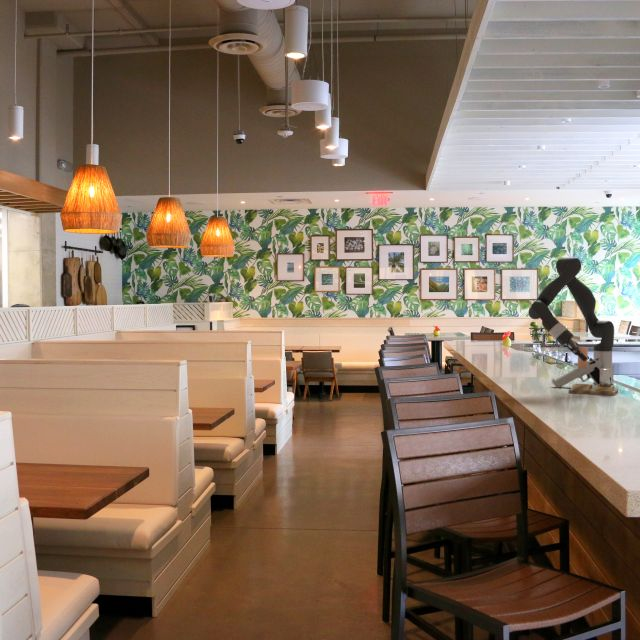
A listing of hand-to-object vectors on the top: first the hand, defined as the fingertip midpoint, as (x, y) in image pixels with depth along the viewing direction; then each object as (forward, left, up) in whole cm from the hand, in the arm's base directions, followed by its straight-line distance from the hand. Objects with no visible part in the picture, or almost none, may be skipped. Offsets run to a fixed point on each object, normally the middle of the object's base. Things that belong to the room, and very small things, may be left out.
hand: (586, 359), depth 351 cm
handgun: (-13, -18, -16) cm, 27 cm away
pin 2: (-5, +7, -14) cm, 16 cm away
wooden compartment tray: (-2, +3, -16) cm, 16 cm away
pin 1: (+1, -2, -4) cm, 5 cm away
